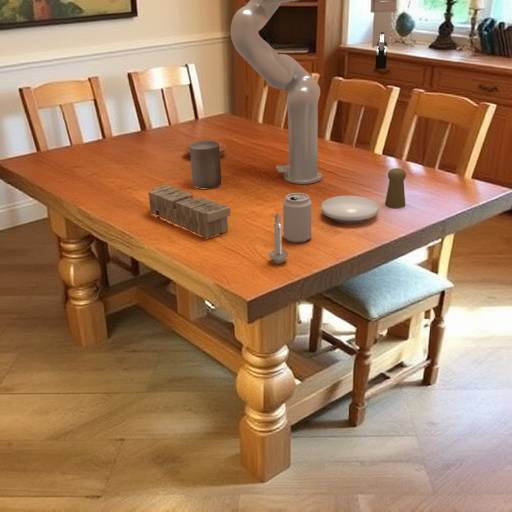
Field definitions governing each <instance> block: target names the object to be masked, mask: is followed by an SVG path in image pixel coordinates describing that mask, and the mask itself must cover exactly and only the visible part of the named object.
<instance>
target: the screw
mask: <svg viewBox="0 0 512 512" xmlns="http://www.w3.org/2000/svg"><path fill="white" fill-rule="evenodd" d="M273 225H274V226H273V228H274V229H273V230H274V231H273V232H274V233H273V234H274V235H273V236H274V239H273V240H274V249H272V250H270V251H269V252H268V257H269V258H270V259H272V262H273V263H274V264H277V265H280V264H283V263H284V262H285V259H286V258H288V256H289V252H288V251H286V250H284V249H282V248H283V240H282V239H283V234H282V231H283V229H282V228H283V227H282V222H281V214H280V213H278V212H277V213H275V214H274V224H273Z"/></svg>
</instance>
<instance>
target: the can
mask: <svg viewBox="0 0 512 512" xmlns="http://www.w3.org/2000/svg"><path fill="white" fill-rule="evenodd" d="M312 204H313V203H312V200H311V199H310V195H309V194H307V193H302V192H295V193H294V192H293V193H289V194H287V195H285V199H284V200H283V201H282V206H283V207H282V212H283V213H282V214H283V217H282V218H283V237H284V239H286V240H287V241H288V242H291V243H296V244H300V243H305V242H307V241H308V240H310V239H311V237H312V206H313V205H312Z"/></svg>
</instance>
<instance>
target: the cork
mask: <svg viewBox="0 0 512 512" xmlns="http://www.w3.org/2000/svg"><path fill="white" fill-rule="evenodd" d="M406 177H407V173H406V171H405V170H404V169H402V168H399V167H397V168H396V167H395V168H392V169H391V168H390V169H389V171H388V172H387V178H388V180H389V181H388V185H387V192H386V196H385V197H386V198H385V202H384V206H385V207H387V208H389V209H390V208H391V209H401V208H404V207H406V195H405V182H404V181H405V180H406V179H407V178H406Z"/></svg>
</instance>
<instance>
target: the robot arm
mask: <svg viewBox="0 0 512 512" xmlns="http://www.w3.org/2000/svg"><path fill="white" fill-rule="evenodd" d="M296 1H297V0H249V1H248V2H247V4H246V5H244V6H242V7H241V8H239V9H238V10H237V11H235V14H234V16H233V17H232V19H231V24H230V38H231V42H232V44H233V46H234V48H235V50H236V52H238V54H239V55H240V56H241V57H242V58H243V59H244V60H245V61H246V62H247V63H248V64H249V65H250V66H251V67H252V68H253V70H255V71H256V73H257V74H259V76H261V77H262V78H263V79H264V81H265V82H266V83H268V85H269V86H270V87H272V88H274V89H278V90H280V89H281V90H282V89H283V91H285V92H286V93H287V94H288V95H287V100H286V107H287V118H288V119H287V123H288V125H287V127H288V129H287V130H288V131H287V132H288V163H287V164H285V165H276V166H275V171H276V172H278V174H284V180H285V181H286V182H287V183H292V184H295V185H296V184H297V185H308V184H310V185H311V184H313V183H314V184H315V183H318V182H320V181H321V180H322V179H323V174H322V173H321V172H320V171H318V164H319V162H318V154H319V153H318V152H319V151H318V149H319V147H318V145H319V144H318V140H319V139H318V138H319V137H318V135H319V134H318V131H319V130H318V129H319V122H318V121H319V117H318V113H319V110H318V107H319V106H318V105H319V99H320V96H321V88H320V85H319V83H318V82H317V81H316V80H315V78H314V77H313V76H312V75H311V74H309V72H307V70H306V69H305V68H304V67H303V66H302V65H301V64H300V63H298V61H297V60H296V59H294V58H293V57H291V56H290V55H288V54H284V53H278V52H277V51H276V50H275V49H274V48H273V47H272V45H270V44H269V43H268V42H267V41H266V40H264V39H263V38H262V37H261V36H260V34H259V31H261V30H262V29H263V28H264V26H266V25H267V23H268V22H269V21H270V19H271V18H272V16H273V15H274V14H275V13H276V11H277V10H278V8H279V7H280V6H281V5H282V3H283V4H284V3H290V2H296ZM397 2H398V0H370V11H369V12H370V13H372V14H373V18H372V20H373V21H372V40H371V41H372V44H371V47H372V48H375V47H376V51H375V65H374V67H375V69H376V70H386V68H387V62H388V61H387V59H388V56H387V55H388V53H387V52H388V50H387V48H388V47H389V46H390V38H391V32H392V31H391V30H392V17H393V13H396V12H397V6H398V5H397Z"/></svg>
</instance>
